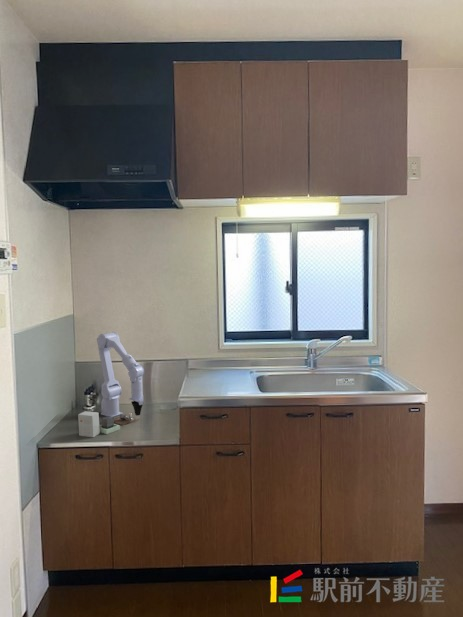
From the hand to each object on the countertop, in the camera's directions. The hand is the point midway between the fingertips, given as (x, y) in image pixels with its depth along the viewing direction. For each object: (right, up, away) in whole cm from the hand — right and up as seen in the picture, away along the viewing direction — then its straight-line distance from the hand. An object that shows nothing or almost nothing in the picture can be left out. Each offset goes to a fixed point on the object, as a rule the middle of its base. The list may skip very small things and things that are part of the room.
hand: (137, 415), depth 264 cm
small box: (-19, -5, -20) cm, 29 cm away
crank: (-5, -2, -2) cm, 6 cm away
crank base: (-7, -3, 0) cm, 8 cm away
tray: (-12, -5, -15) cm, 19 cm away
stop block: (-12, -4, -15) cm, 19 cm away
